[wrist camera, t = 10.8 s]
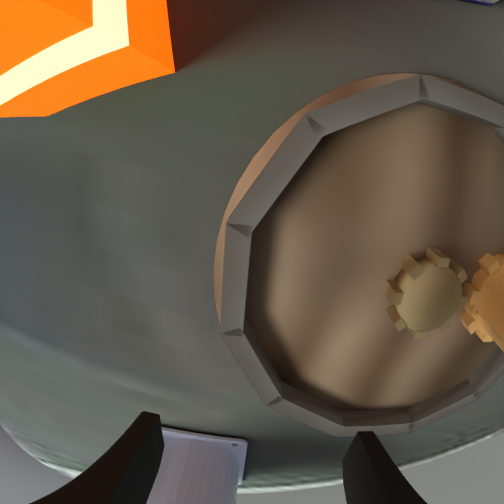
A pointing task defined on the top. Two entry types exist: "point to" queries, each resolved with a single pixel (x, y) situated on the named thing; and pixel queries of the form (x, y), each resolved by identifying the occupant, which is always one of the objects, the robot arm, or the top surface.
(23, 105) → the orange juice
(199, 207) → the top surface
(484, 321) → the planet gear
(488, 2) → the supplement box
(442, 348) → the wooden tray
